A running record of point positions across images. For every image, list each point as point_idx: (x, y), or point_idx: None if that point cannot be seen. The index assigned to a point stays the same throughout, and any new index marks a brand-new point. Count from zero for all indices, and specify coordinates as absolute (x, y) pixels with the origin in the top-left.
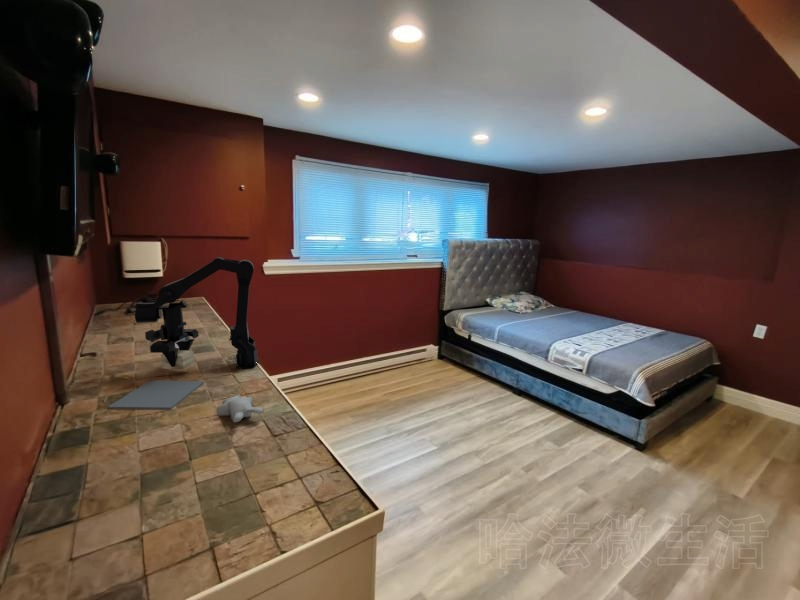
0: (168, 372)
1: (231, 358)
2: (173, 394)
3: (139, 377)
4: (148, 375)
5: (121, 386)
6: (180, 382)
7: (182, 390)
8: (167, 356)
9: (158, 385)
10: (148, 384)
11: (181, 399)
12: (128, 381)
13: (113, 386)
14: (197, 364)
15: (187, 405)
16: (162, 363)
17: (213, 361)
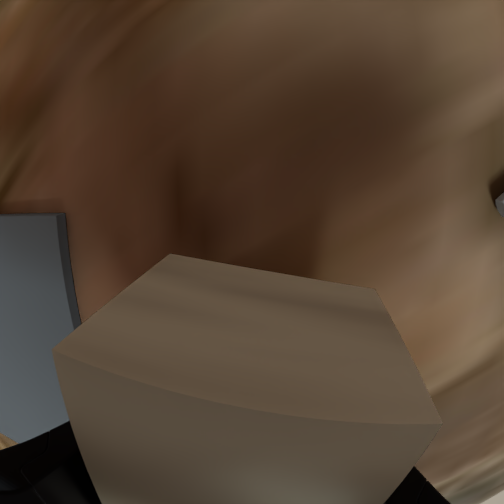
0: (280, 236)
1: (476, 481)
2: (5, 409)
3: (153, 38)
4: (198, 80)
5: (20, 63)
6: None
7: (35, 433)
8: (31, 463)
9: (22, 318)
10: (14, 247)
11: (4, 433)
12: (83, 28)
13: (27, 18)
14: (449, 382)
15: (4, 443)
16: (139, 285)
17: (470, 438)
